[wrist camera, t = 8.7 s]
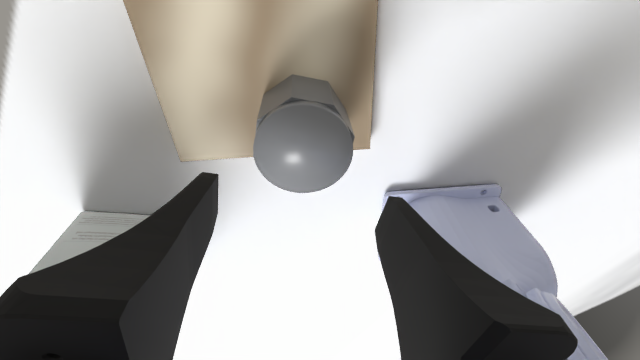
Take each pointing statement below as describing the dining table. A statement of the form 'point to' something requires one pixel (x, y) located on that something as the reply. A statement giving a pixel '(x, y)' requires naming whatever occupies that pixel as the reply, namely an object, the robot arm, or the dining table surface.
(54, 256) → the supplement box
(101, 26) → the dining table surface
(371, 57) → the board
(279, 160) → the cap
